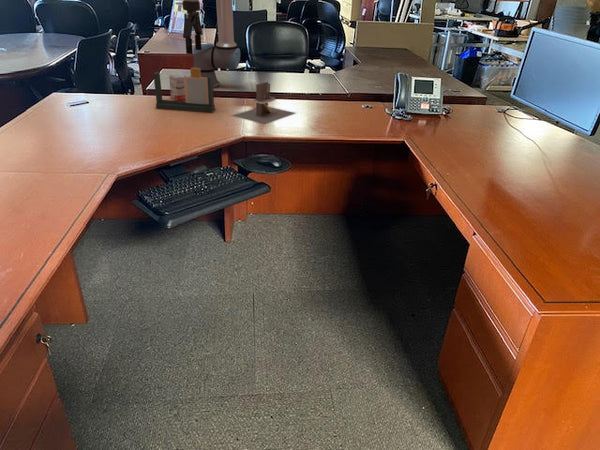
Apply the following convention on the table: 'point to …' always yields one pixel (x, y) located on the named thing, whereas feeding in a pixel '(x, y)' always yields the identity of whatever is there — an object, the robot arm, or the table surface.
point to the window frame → (182, 104)
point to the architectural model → (263, 107)
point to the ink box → (177, 87)
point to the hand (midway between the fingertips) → (194, 51)
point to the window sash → (196, 87)
